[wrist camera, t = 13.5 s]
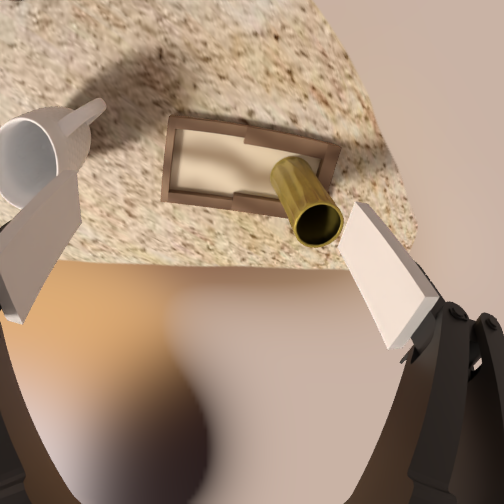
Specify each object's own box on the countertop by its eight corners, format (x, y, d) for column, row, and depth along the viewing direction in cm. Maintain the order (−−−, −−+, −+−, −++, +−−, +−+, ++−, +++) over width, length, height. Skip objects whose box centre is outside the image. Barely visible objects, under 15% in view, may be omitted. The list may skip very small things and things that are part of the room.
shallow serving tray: (171, 115, 35) (168, 116, 33) (337, 145, 39) (341, 147, 37) (162, 197, 41) (160, 201, 40) (314, 218, 45) (317, 223, 44)
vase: (266, 193, 42) (283, 249, 30) (274, 152, 39) (297, 193, 27) (307, 198, 43) (338, 254, 31) (316, 159, 40) (355, 202, 28)
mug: (100, 66, 29) (50, 69, 19) (139, 128, 35) (104, 155, 24) (31, 130, 32) (-23, 158, 21) (66, 184, 38) (23, 227, 27)
